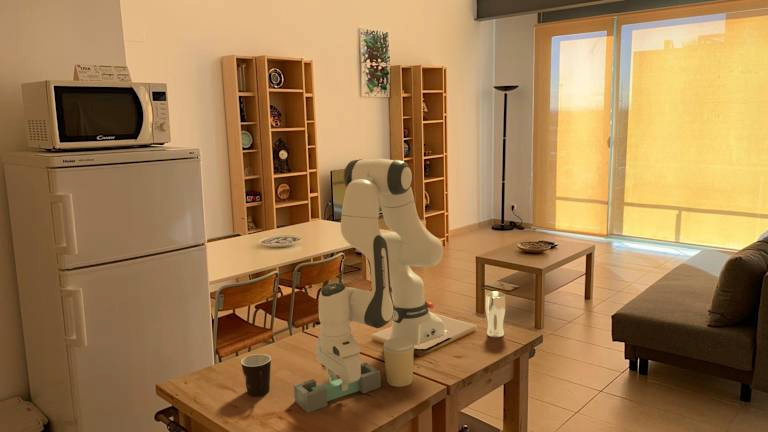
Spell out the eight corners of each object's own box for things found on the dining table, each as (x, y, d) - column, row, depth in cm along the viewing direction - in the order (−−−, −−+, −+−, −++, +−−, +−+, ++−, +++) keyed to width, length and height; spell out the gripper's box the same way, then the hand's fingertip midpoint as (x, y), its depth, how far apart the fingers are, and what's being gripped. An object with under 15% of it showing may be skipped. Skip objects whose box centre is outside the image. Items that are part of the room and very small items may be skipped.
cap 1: (307, 412, 161) (306, 396, 160) (294, 401, 168) (293, 385, 167) (327, 405, 164) (326, 389, 163) (314, 394, 171) (313, 378, 170)
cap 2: (366, 377, 181) (365, 362, 180) (380, 387, 174) (380, 371, 173) (349, 383, 177) (348, 367, 176) (363, 393, 171) (362, 377, 170)
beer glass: (482, 335, 210) (482, 295, 207) (490, 329, 215) (490, 290, 213) (500, 339, 206) (500, 298, 203) (508, 332, 211) (508, 293, 209)
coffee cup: (421, 379, 178) (420, 342, 176) (400, 391, 171) (399, 352, 169) (399, 370, 184) (397, 334, 182) (377, 381, 178) (376, 344, 176)
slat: (316, 405, 165) (315, 392, 165) (311, 400, 168) (310, 387, 167) (365, 389, 174) (364, 376, 173) (359, 385, 177) (358, 372, 176)
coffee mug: (247, 384, 179) (245, 354, 177) (276, 384, 178) (273, 353, 176) (237, 404, 167) (234, 371, 165) (267, 403, 167) (264, 370, 165)
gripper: (309, 332, 175) (312, 375, 177) (344, 354, 158) (346, 402, 160) (328, 327, 178) (330, 369, 181) (363, 348, 161) (365, 395, 164)
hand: (338, 385), depth 170 cm, fingers open, 5 cm apart
